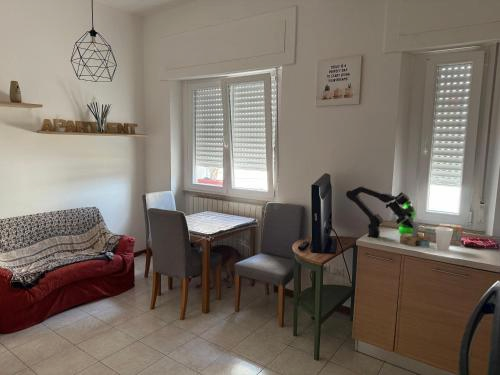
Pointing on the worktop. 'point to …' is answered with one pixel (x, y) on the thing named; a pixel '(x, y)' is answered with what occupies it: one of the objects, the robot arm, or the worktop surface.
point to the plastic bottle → (403, 227)
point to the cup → (424, 243)
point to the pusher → (415, 229)
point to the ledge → (410, 239)
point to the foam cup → (443, 238)
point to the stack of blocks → (457, 229)
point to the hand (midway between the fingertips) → (413, 228)
